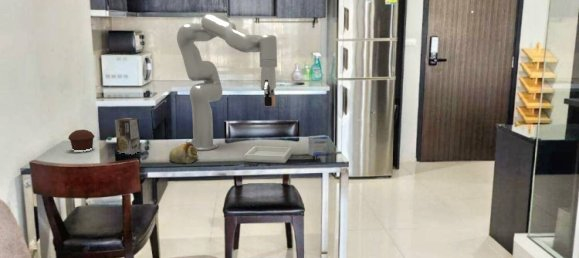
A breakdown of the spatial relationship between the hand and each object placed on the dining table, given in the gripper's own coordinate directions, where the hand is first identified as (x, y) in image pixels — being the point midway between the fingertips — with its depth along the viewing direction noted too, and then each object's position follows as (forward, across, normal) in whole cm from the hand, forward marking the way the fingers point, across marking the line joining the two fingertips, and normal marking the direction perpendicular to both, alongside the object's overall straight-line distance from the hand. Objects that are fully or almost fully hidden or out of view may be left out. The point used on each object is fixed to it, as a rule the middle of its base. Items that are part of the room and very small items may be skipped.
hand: (269, 104), depth 223 cm
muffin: (+22, +2, -92) cm, 95 cm away
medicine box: (+25, -10, +20) cm, 33 cm away
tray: (+24, 0, -1) cm, 24 cm away
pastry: (+24, +11, -37) cm, 45 cm away
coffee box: (+23, +2, -68) cm, 72 cm away
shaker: (+1, 0, 0) cm, 1 cm away
